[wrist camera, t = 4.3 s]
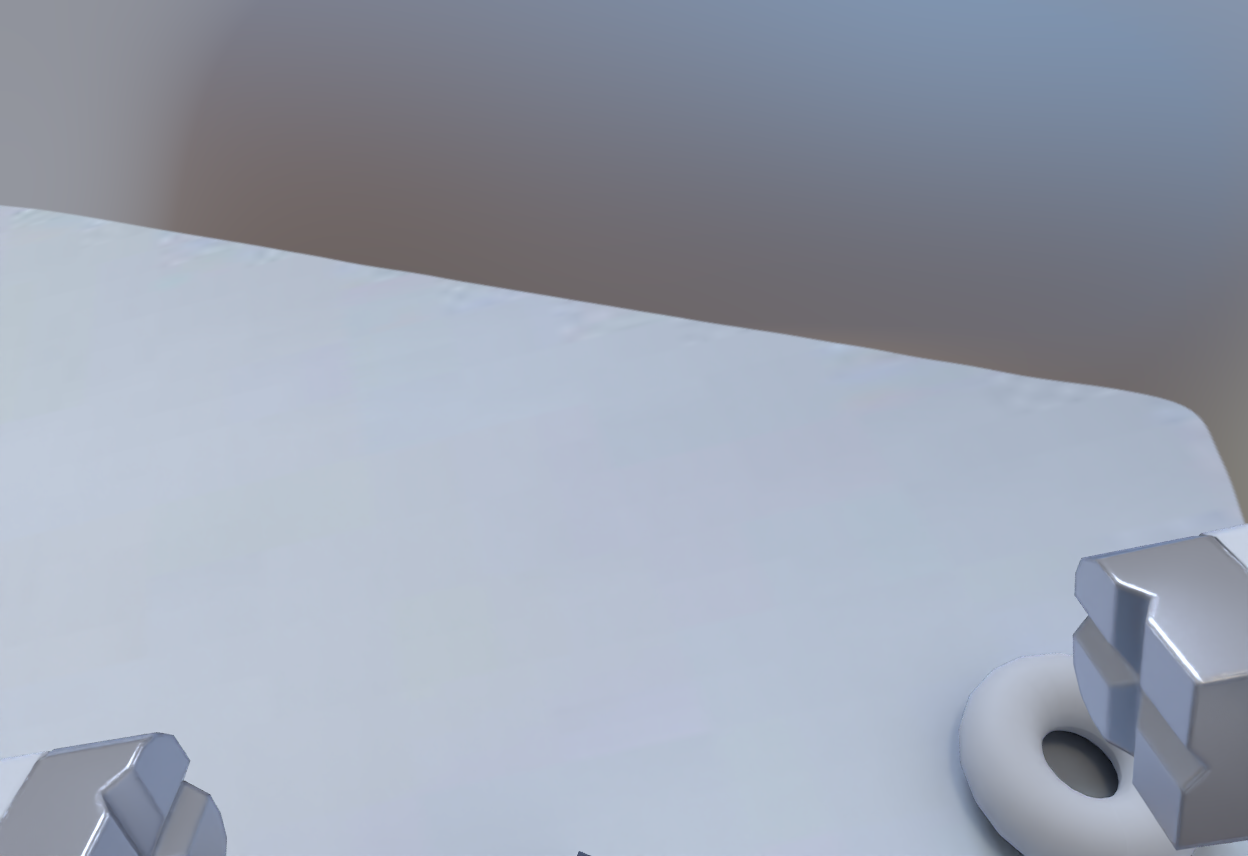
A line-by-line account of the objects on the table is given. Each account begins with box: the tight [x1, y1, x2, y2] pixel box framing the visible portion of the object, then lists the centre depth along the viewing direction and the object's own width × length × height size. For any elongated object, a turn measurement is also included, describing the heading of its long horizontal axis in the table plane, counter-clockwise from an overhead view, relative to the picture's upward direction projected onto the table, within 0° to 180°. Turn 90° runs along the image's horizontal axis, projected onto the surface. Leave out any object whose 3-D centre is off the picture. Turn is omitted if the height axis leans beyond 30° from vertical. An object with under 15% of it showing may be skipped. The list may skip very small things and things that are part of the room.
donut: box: [959, 653, 1196, 856], centre depth 41 cm, size 10×3×10 cm
